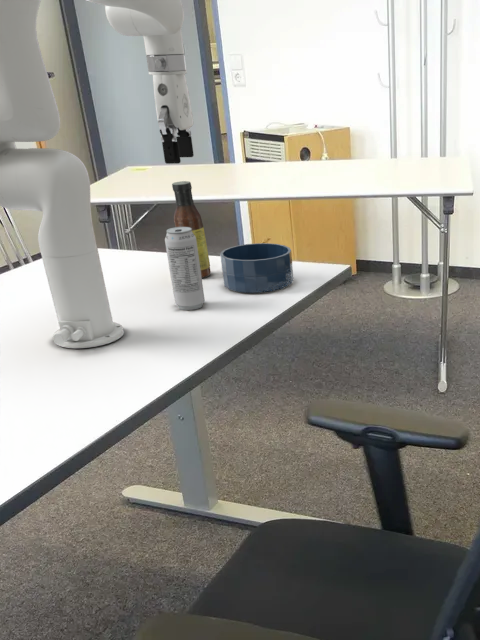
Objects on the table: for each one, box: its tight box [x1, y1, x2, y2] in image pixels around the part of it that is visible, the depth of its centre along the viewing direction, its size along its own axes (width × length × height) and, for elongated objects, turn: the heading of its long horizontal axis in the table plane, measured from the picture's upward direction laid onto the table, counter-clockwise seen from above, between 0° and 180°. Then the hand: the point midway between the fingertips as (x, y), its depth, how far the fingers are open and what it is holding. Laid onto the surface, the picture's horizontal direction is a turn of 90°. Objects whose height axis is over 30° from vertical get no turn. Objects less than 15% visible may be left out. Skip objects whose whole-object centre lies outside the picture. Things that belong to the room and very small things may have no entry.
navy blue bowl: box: [219, 242, 294, 294], centre depth 167 cm, size 15×15×7 cm
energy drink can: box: [164, 227, 206, 311], centre depth 153 cm, size 6×6×15 cm
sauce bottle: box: [171, 180, 212, 279], centre depth 171 cm, size 7×6×20 cm
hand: (179, 160), depth 163 cm, fingers open, 9 cm apart
